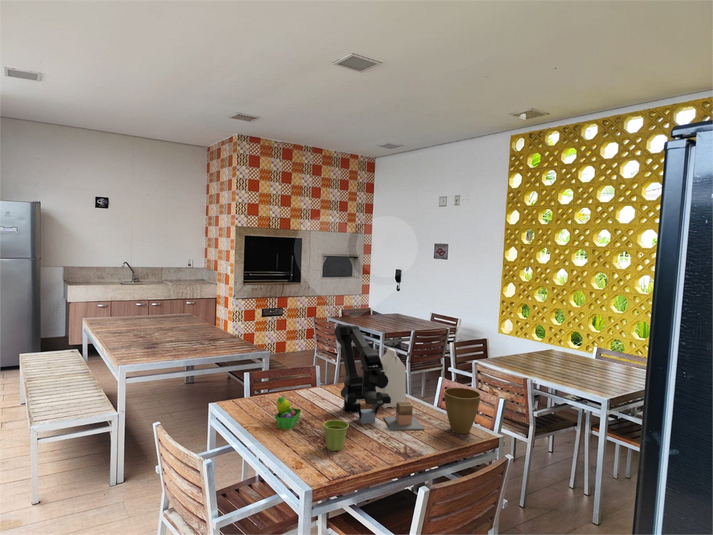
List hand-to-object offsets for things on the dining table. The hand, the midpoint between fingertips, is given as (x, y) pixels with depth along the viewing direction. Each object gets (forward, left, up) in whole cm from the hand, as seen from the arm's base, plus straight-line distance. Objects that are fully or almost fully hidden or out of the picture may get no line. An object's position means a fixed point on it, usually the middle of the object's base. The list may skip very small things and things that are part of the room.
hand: (367, 418), depth 202 cm
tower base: (+15, -4, -1) cm, 16 cm away
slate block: (0, 0, -1) cm, 1 cm away
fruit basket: (-34, -4, -1) cm, 34 cm away
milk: (+15, +23, -1) cm, 27 cm away
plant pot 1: (-17, -27, -1) cm, 32 cm away
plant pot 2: (+37, -12, -1) cm, 39 cm away
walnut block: (+15, -4, +4) cm, 16 cm away
